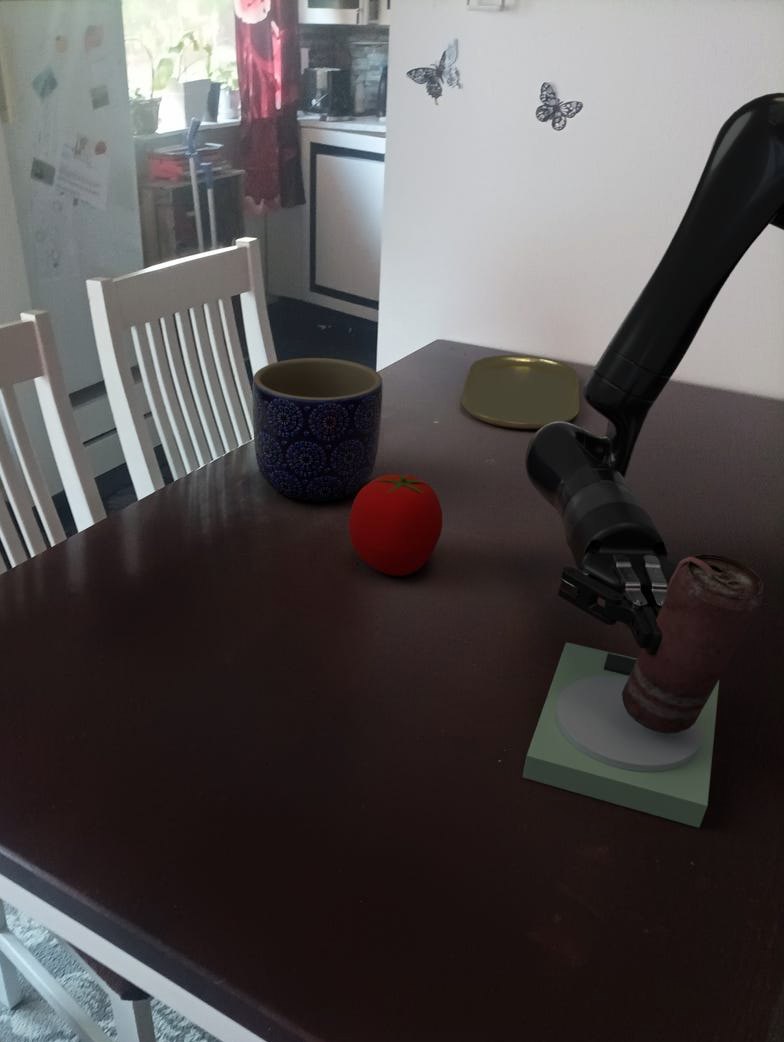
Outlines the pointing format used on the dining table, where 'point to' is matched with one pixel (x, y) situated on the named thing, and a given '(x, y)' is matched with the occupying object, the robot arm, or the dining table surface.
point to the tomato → (395, 523)
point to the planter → (316, 426)
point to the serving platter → (521, 391)
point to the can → (692, 641)
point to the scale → (618, 742)
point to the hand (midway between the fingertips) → (663, 645)
